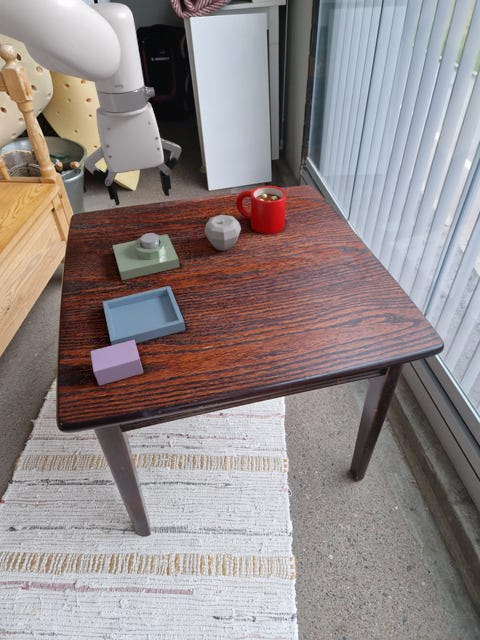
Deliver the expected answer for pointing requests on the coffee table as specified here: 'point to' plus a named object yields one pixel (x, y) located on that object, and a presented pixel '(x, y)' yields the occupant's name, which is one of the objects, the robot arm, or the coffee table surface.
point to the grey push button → (149, 241)
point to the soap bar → (116, 362)
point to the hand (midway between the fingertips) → (141, 197)
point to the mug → (264, 208)
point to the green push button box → (145, 258)
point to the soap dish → (143, 316)
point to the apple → (222, 231)
